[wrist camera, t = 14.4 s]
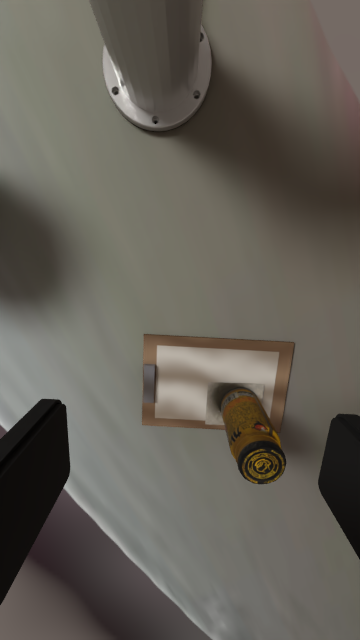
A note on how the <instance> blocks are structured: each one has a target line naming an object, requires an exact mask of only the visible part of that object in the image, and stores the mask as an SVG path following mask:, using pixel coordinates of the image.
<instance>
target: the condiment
mask: <svg viewBox="0 0 360 640" xmlns="http://www.w3.org/2000/svg"><path fill="white" fill-rule="evenodd" d="M263 391H264V384H254V383H223V382H208V390H207V405H206V421H205V424H210V425H213V424H214V425H224V426H225V429H226V433H227V437H228V442H229V446H230V450H231V453H232V455H233V457H234V458H235V459H236V462H237V464H238V469H239V471H240V473H241V474H242V476H243V477H244V478H245V479H246V480H248V481H250V482H252V483H255V484H268V483H271V482H274V481H276V480H277V479H278V478H279V477H280V476H281V475H282V474H283V472H284V470H285V466H286V459H285V455H284V453H283V451H282V449H281V445H280V438H279V436H278V434H277V432H276V430H275V428H274V426H273V424H272V423H271V421H270V418H269V417H268V415H267V413H266V411H265V410H264V407H263V406H262V398H263Z"/></svg>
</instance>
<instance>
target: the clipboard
mask: <svg viewBox="0 0 360 640" xmlns="http://www.w3.org/2000/svg"><path fill="white" fill-rule="evenodd" d="M293 348H294V342H281V341H263V340H244V339H226V338H207V337H189V336H170V335H152V334H144V354H143V406H142V425H150V426H168V427H186V428H203V429H221V430H226V429H225V426H224V425H214V424H213V425H210V424H205V421H206V405H207V390H208V382H223V383H254V384H264V391H263V398H262V406H263V407H264V410H265V411H266V413H267V415H268V417H269V418H270V421H271V423H272V424H273V426H274V428H275V430H276V432H277V433H280V430H281V423H282V417H283V411H284V405H285V398H286V392H287V386H288V380H289V373H290V367H291V361H292V355H293Z"/></svg>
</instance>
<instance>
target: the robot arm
mask: <svg viewBox="0 0 360 640" xmlns="http://www.w3.org/2000/svg"><path fill="white" fill-rule="evenodd" d="M89 2H90V4H91V7H92V10H93V13H94V15H95V18H96V21H97V24H98V26H99V29H100V32H101V35H102V37H103V40H104V48H103V58H102V66H103V76H104V80H105V83H106V87H107V90H108V92H109V94H110V97H111V99H112V101H113V102H114V104H115V106H116V108H117V109H118V110H119V111H120V113H121V114H122V115H123V116H124V117H125V118H126V119H127V120H129V121H130V122H131V123H133V124H134V125H136V126H138V127H140V128H143V129H146V130H149V131H167V130H170V129H173V128H176V127H178V126H180V125H182V124H183V123H185V122H187V121H188V120H189V119H190V118H191V117H192V116H193V115H194V114H195V113H196V111H197V110H198V109H199V107H200V106H201V104H202V102H203V100H204V98H205V96H206V93H207V90H208V87H209V83H210V77H211V66H212V58H211V48H210V45H209V41H208V37H207V35H206V32H205V30H204V28H203V26H202V24H201V18H202V3H203V0H89ZM116 94H118V95H116ZM196 97H197V98H198V99H195V98H196ZM155 122H158V123H157V124H154V123H155ZM69 473H70V457H69V443H68V428H67V414H66V406H65V405H64V404H62V403H61V401H60V400H57V399H41V400H40V401H39V402H38V403H37V404H36V405H35V406H34V407H33V408H32V409H31V410H30V411H29V412H28V413H27V414H26V415H25V416H24V417H23V418H22V419H21V420H20V421H18V422H17V423H16V424H15V425H14V426H13V427H12V428H11V429H10V430H9V431H8V432H7V433H6V434H5V435H4V436H3V437H2V438H1V439H0V605H1V603H2V602H3V600H4V598H5V596H6V594H7V593H8V590H9V589H10V587H11V585H12V583H13V581H14V579H15V577H16V576H17V574H18V572H19V570H20V568H21V566H22V564H23V562H24V560H25V559H26V557H27V555H28V553H29V551H30V549H31V547H32V545H33V544H34V542H35V540H36V538H37V536H38V534H39V532H40V530H41V528H42V527H43V524H44V523H45V521H46V519H47V517H48V515H49V513H50V511H51V510H52V508H53V506H54V504H55V502H56V500H57V498H58V496H59V495H60V493H61V491H62V489H63V487H64V485H65V483H66V481H67V479H68V477H69ZM318 485H319V489H320V492H321V494H322V496H323V498H324V499H325V501H326V503H327V504H328V506H329V508H330V509H331V511H332V513H333V515H334V516H335V518H336V520H337V521H338V523H339V525H340V527H341V528H342V530H343V532H344V533H345V535H346V537H347V539H348V540H349V542H350V544H351V545H352V547H353V549H354V551H355V552H356V554H357V556H358V557H359V559H360V416H358V415H353V414H338V415H337V416H336V418H333V419H332V420H331V424H330V429H329V433H328V438H327V442H326V447H325V452H324V456H323V461H322V466H321V470H320V475H319V480H318Z"/></svg>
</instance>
